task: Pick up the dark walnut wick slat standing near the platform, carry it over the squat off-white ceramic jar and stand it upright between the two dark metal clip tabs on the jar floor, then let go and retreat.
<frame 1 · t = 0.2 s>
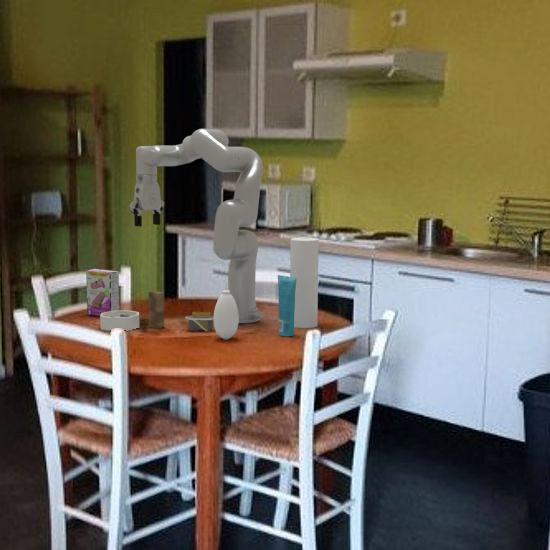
hand: (147, 225, 304), 31 cm above the table, tool pointing down, fingers open, 9 cm apart
sauce bottle: (226, 339, 254), on the table
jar: (120, 327, 270), on the table
cylinder container: (303, 325, 276), on the table
candy bar box: (103, 316, 289), on the table
tube: (286, 335, 260), on the table
wick: (156, 327, 270), on the table
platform: (200, 332, 266), on the table
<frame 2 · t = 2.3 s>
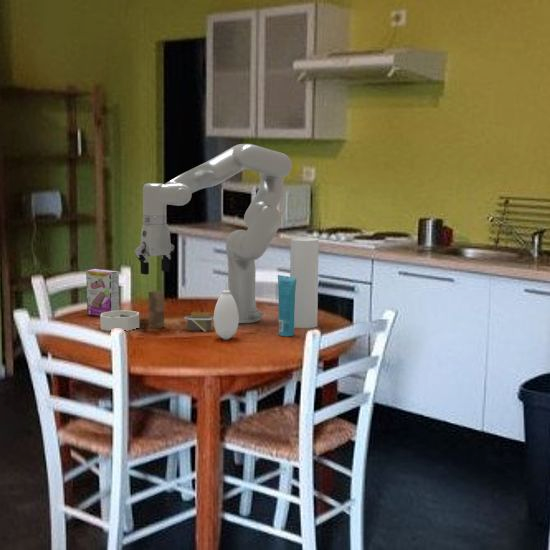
hand: (155, 272, 268), 19 cm above the table, tool pointing down, fingers open, 9 cm apart
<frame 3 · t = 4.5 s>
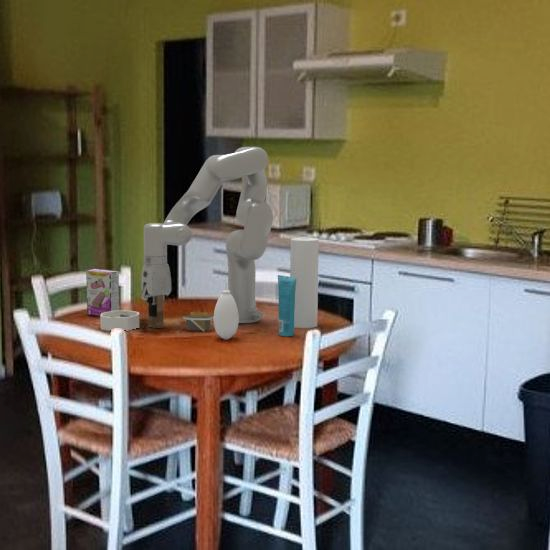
hand: (156, 315, 269), 4 cm above the table, tool pointing down, fingers closed on wick, 2 cm apart
wick: (156, 327, 270), on the table, touching gripper
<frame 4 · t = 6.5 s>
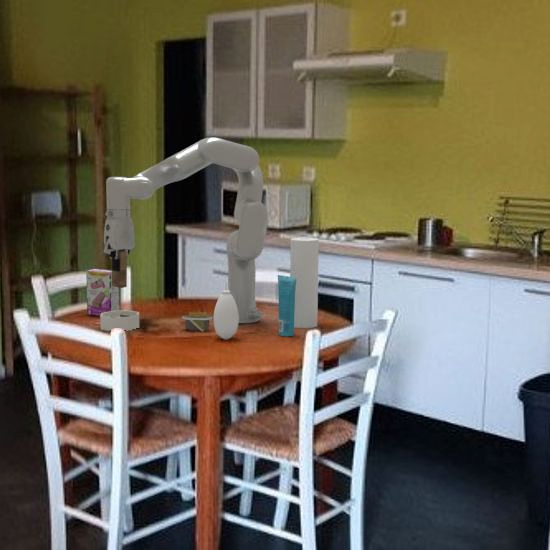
hand: (119, 269, 267), 19 cm above the table, tool pointing down, fingers closed on wick
wick: (119, 286, 268), point 14 cm above the table, touching gripper
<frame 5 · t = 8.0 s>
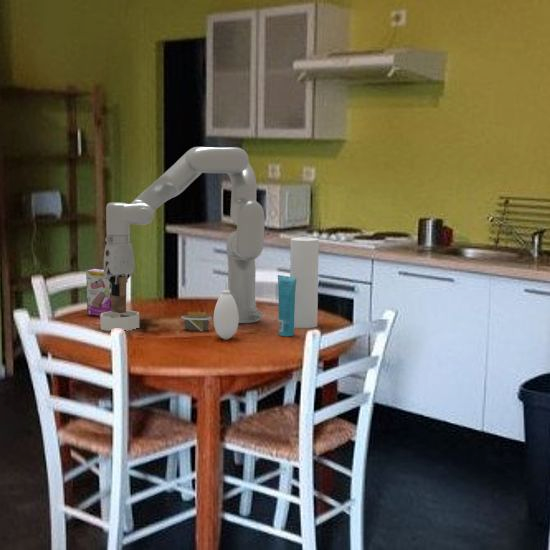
hand: (118, 294, 269), 11 cm above the table, tool pointing down, fingers closed on wick
wick: (118, 311, 270), point 5 cm above the table, touching gripper
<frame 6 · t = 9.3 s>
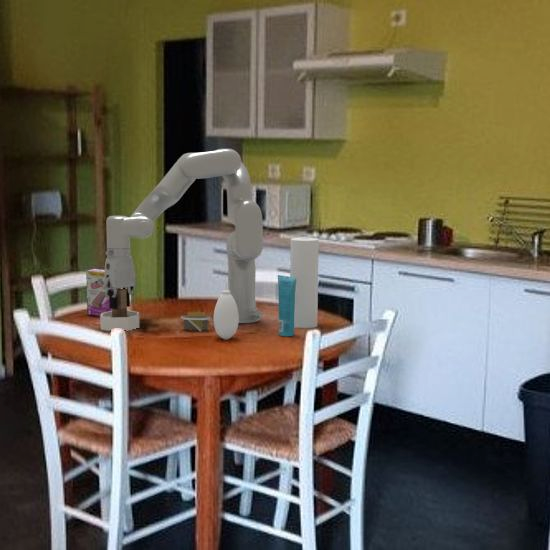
hand: (119, 306, 269), 7 cm above the table, tool pointing down, fingers open, 4 cm apart
wick: (119, 324, 270), point 1 cm above the table, touching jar
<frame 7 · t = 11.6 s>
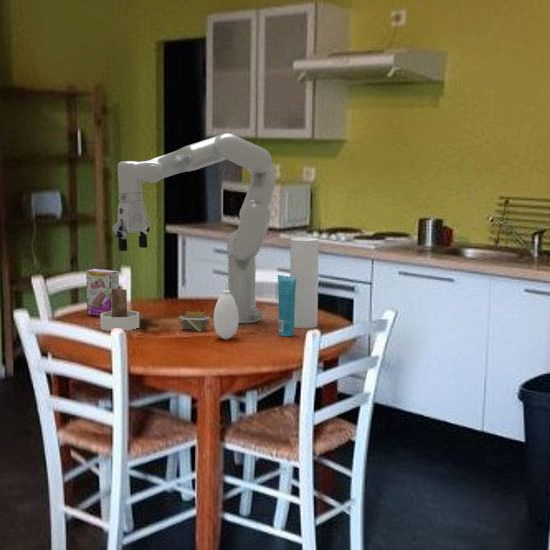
hand: (133, 249, 273), 26 cm above the table, tool pointing down, fingers open, 9 cm apart
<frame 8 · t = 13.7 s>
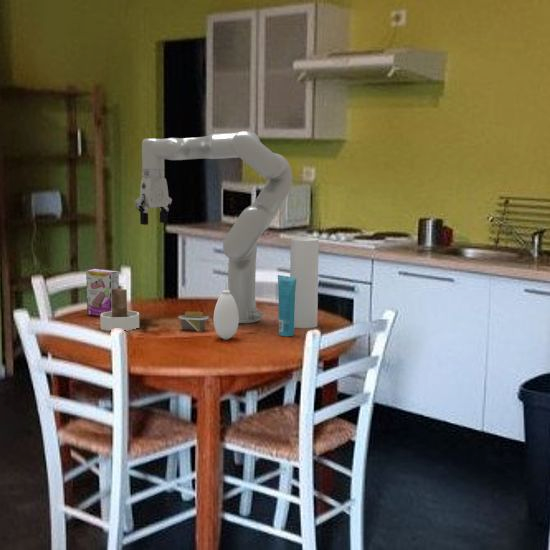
hand: (154, 223, 283), 33 cm above the table, tool pointing down, fingers open, 9 cm apart
at the end: wick 0.2 cm off-centre on the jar, point 0.8 cm above the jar's base; wick tilted 0°; the gripper is holding nothing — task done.
